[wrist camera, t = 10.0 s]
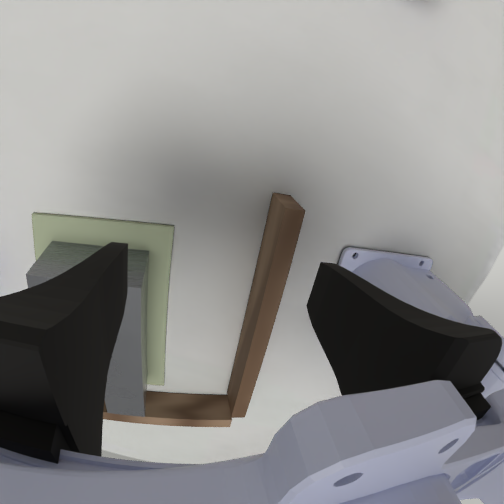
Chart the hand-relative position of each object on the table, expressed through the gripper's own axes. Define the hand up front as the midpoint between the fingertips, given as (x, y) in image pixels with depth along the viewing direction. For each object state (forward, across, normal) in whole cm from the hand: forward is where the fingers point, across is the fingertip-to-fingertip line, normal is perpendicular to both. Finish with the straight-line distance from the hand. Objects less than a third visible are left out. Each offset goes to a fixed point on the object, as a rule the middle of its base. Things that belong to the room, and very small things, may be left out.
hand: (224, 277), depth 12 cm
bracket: (+9, +7, +10) cm, 15 cm away
